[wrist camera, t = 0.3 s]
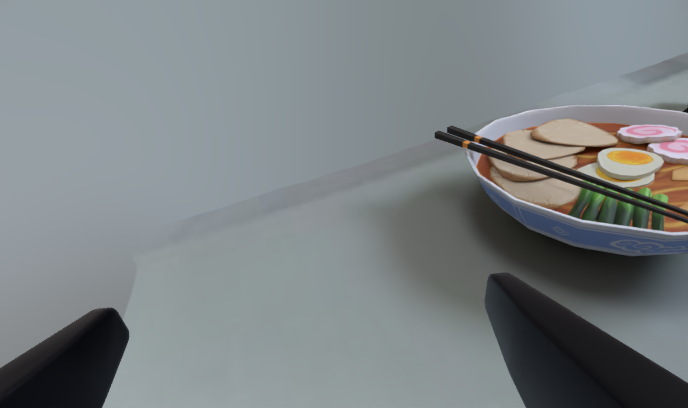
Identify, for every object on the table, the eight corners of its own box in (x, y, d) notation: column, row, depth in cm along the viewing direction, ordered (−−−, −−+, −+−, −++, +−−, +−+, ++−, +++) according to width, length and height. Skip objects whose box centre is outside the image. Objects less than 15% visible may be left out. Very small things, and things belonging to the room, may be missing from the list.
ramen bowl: (839, 231, 25) (925, 136, 21) (687, 394, 18) (768, 303, 14) (542, 143, 45) (554, 84, 40) (412, 206, 38) (409, 142, 33)
